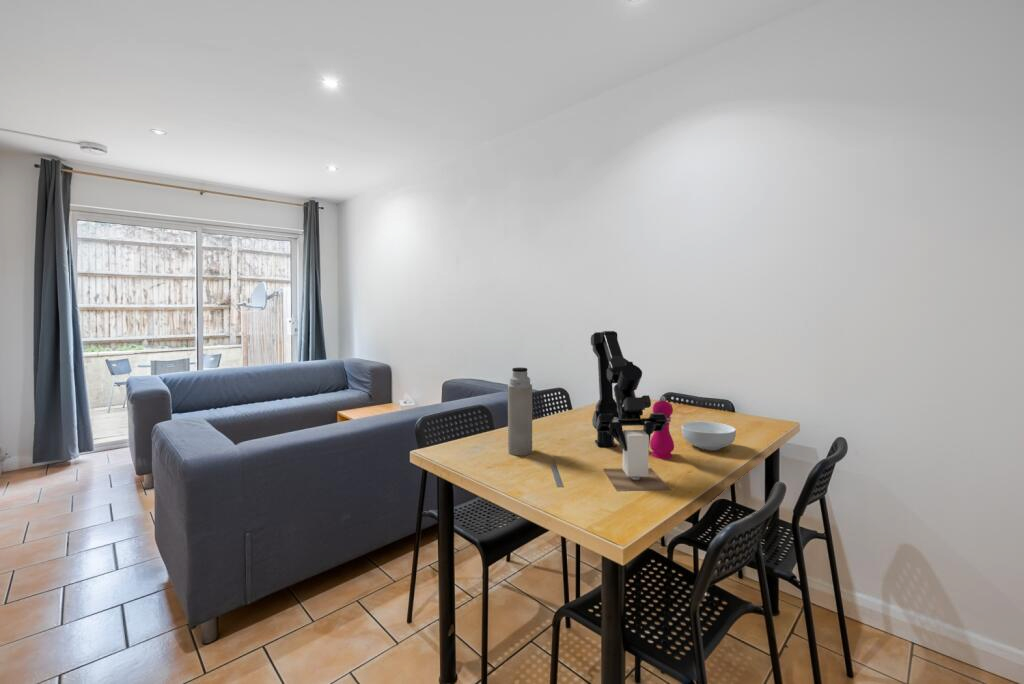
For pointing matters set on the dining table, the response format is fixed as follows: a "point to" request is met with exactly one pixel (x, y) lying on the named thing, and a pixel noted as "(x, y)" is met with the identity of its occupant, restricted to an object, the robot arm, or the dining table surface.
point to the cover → (636, 453)
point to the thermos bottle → (520, 413)
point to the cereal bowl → (708, 434)
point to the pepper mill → (662, 432)
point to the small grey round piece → (635, 477)
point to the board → (635, 481)
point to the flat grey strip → (557, 476)
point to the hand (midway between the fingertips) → (636, 450)
